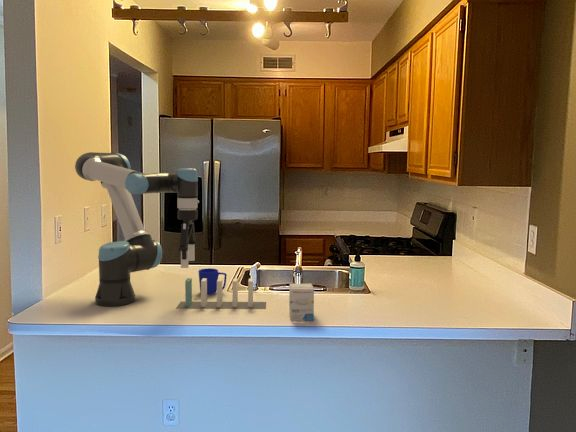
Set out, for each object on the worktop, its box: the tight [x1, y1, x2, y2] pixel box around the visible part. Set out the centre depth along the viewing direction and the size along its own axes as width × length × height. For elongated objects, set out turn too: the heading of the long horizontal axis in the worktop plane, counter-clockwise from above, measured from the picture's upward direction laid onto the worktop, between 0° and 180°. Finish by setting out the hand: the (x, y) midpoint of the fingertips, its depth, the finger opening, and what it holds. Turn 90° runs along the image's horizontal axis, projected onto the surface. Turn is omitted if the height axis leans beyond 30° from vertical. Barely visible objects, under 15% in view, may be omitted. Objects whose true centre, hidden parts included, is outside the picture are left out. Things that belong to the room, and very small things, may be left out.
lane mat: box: [175, 300, 267, 310], centre depth 200 cm, size 34×10×1 cm, turn 91°
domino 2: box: [216, 277, 223, 307], centre depth 200 cm, size 2×5×10 cm, turn 1°
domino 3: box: [232, 278, 239, 307], centre depth 200 cm, size 2×5×10 cm, turn 1°
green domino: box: [184, 277, 193, 307], centre depth 200 cm, size 2×5×10 cm, turn 1°
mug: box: [198, 267, 228, 295], centre depth 219 cm, size 8×12×10 cm
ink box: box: [288, 283, 315, 322], centre depth 187 cm, size 9×8×12 cm
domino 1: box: [200, 278, 208, 307], centre depth 200 cm, size 2×5×10 cm, turn 1°
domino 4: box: [247, 278, 254, 307], centre depth 200 cm, size 2×5×10 cm, turn 1°
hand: (188, 264), depth 199 cm, fingers open, 13 cm apart
